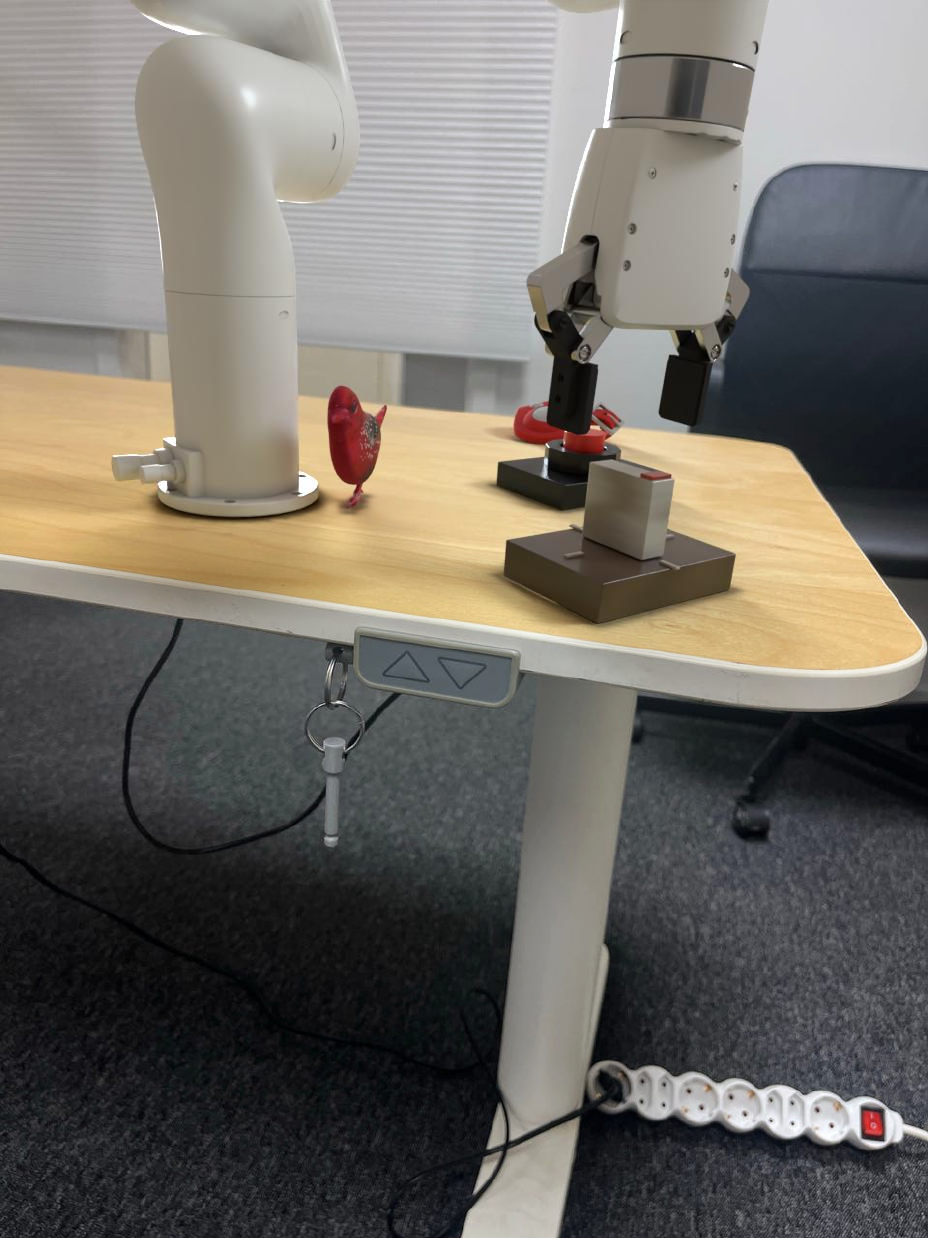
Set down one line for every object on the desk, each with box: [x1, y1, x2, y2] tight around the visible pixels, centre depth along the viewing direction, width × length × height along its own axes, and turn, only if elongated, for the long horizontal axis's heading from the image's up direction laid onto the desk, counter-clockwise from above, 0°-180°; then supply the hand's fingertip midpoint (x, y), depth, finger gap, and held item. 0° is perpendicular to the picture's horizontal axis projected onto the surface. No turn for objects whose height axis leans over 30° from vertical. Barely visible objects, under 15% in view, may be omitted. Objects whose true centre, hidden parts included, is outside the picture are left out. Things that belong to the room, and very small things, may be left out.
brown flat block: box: [503, 523, 737, 624], centre depth 58 cm, size 12×10×3 cm
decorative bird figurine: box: [326, 385, 388, 509], centre depth 72 cm, size 3×18×10 cm, turn 172°
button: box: [563, 428, 606, 452], centre depth 79 cm, size 4×4×2 cm
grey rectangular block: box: [582, 460, 675, 560], centre depth 57 cm, size 6×2×5 cm, turn 36°
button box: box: [495, 439, 664, 512], centre depth 79 cm, size 12×9×4 cm
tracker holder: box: [512, 400, 626, 445], centre depth 102 cm, size 12×4×10 cm
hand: (625, 425), depth 55 cm, fingers open, 9 cm apart
